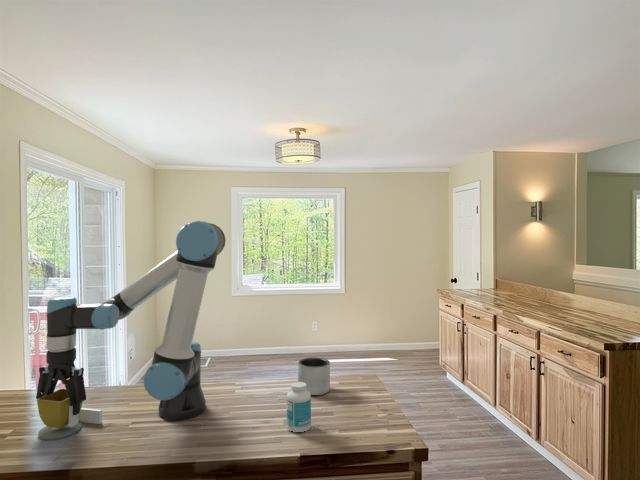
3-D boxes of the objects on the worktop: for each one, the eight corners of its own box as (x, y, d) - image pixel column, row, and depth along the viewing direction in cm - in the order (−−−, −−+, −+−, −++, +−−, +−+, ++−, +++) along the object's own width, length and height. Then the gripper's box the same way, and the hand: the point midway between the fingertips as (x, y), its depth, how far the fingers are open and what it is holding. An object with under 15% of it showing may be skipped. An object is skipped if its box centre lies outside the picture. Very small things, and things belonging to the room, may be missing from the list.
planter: (294, 395, 146) (294, 366, 146) (301, 383, 159) (301, 356, 159) (327, 398, 144) (327, 367, 144) (332, 385, 157) (332, 358, 157)
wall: (102, 422, 124) (102, 409, 124) (99, 423, 123) (99, 411, 123) (64, 418, 126) (64, 406, 126) (61, 419, 125) (62, 407, 125)
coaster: (90, 424, 122) (90, 422, 122) (60, 442, 111) (60, 439, 111) (60, 421, 124) (60, 418, 124) (28, 438, 113) (28, 435, 114)
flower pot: (60, 432, 113) (61, 401, 113) (35, 429, 114) (35, 399, 114) (84, 419, 121) (85, 390, 121) (60, 416, 123) (61, 388, 123)
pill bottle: (314, 424, 123) (314, 381, 123) (305, 435, 116) (306, 390, 116) (292, 421, 125) (292, 379, 125) (282, 431, 118) (283, 386, 118)
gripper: (100, 347, 120) (100, 421, 119) (43, 343, 124) (42, 415, 124) (81, 354, 112) (80, 433, 112) (21, 349, 116) (20, 426, 116)
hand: (60, 423), depth 118 cm, fingers closed on flower pot, 8 cm apart
